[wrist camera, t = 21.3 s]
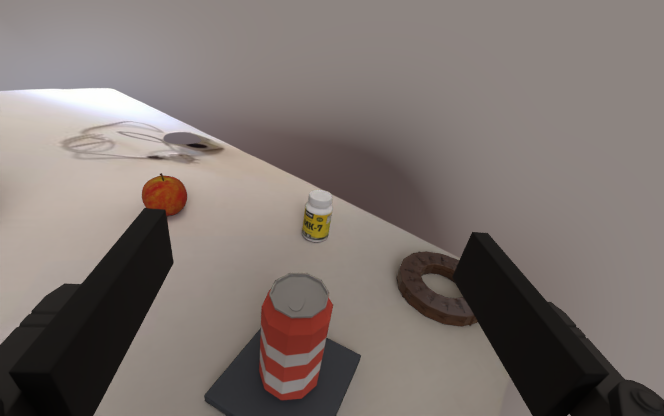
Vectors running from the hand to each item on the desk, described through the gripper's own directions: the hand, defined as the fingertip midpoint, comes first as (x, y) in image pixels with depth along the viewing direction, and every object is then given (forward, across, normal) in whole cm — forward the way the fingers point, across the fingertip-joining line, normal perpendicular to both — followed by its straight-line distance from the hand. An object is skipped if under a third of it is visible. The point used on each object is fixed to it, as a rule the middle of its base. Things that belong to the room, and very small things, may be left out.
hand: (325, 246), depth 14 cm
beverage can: (+9, 0, -24) cm, 26 cm away
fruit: (+39, -23, -25) cm, 52 cm away
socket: (+23, +23, -25) cm, 41 cm away
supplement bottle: (+35, +4, -25) cm, 44 cm away
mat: (+9, 0, -25) cm, 26 cm away
